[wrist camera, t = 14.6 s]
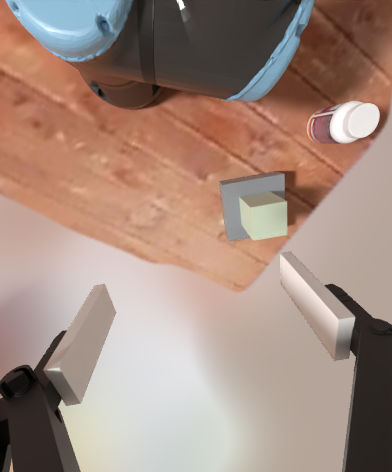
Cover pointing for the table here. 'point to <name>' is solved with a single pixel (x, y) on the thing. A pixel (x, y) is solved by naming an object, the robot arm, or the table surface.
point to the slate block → (241, 188)
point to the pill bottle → (343, 122)
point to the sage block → (263, 215)
